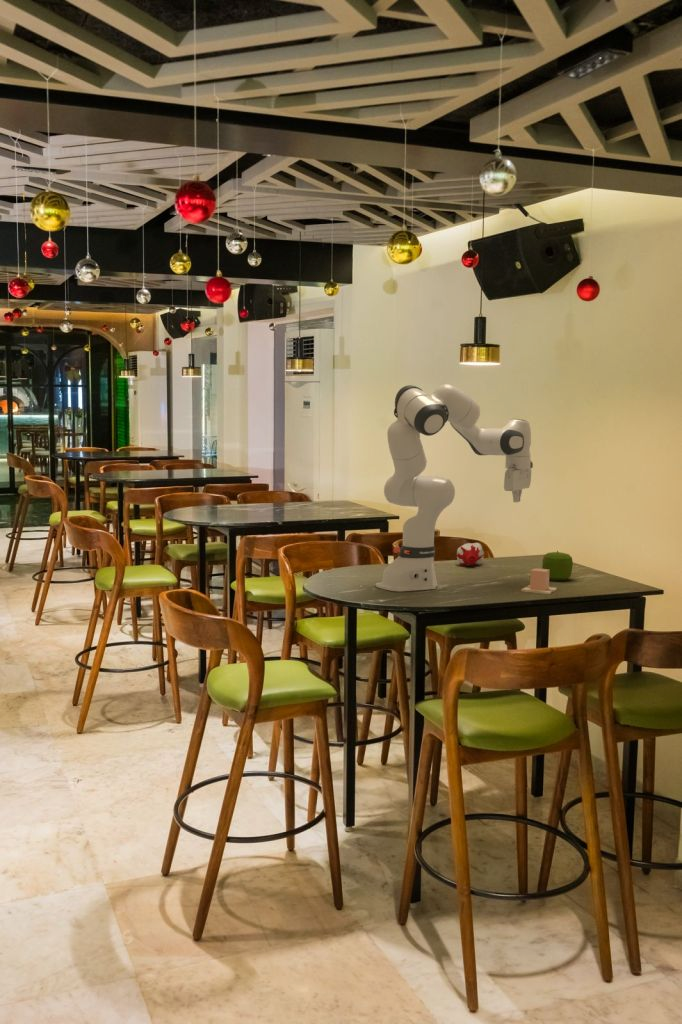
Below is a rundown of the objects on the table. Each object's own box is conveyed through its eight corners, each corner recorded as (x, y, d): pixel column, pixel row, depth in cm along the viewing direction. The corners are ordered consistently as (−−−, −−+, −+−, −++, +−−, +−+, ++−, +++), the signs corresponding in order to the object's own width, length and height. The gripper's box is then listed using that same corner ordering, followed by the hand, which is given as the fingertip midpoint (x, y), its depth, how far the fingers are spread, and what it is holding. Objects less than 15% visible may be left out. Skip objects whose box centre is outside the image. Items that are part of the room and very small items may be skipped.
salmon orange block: (544, 590, 315) (545, 571, 314) (529, 589, 317) (530, 570, 317) (548, 588, 319) (549, 569, 319) (534, 586, 322) (534, 568, 321)
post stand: (549, 594, 312) (550, 575, 311) (520, 591, 316) (521, 573, 316) (557, 589, 320) (558, 571, 320) (529, 586, 325) (530, 569, 325)
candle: (481, 561, 379) (486, 571, 364) (453, 560, 379) (457, 571, 364) (482, 540, 377) (487, 549, 362) (454, 539, 377) (458, 549, 362)
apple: (576, 581, 336) (578, 552, 335) (549, 582, 334) (549, 552, 333) (564, 576, 347) (565, 548, 346) (537, 577, 345) (538, 548, 344)
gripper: (517, 465, 322) (516, 504, 323) (534, 463, 339) (533, 500, 341) (500, 465, 325) (499, 503, 326) (517, 462, 342) (516, 499, 344)
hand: (516, 502), depth 334 cm, fingers closed
